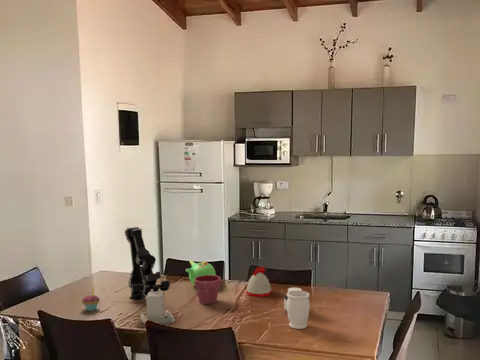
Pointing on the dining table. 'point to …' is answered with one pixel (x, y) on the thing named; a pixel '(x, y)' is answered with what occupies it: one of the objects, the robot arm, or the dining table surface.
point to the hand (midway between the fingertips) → (154, 302)
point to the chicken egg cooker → (259, 284)
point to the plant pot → (207, 288)
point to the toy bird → (200, 270)
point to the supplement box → (155, 305)
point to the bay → (163, 320)
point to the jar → (298, 309)
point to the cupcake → (90, 301)
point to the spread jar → (287, 297)
